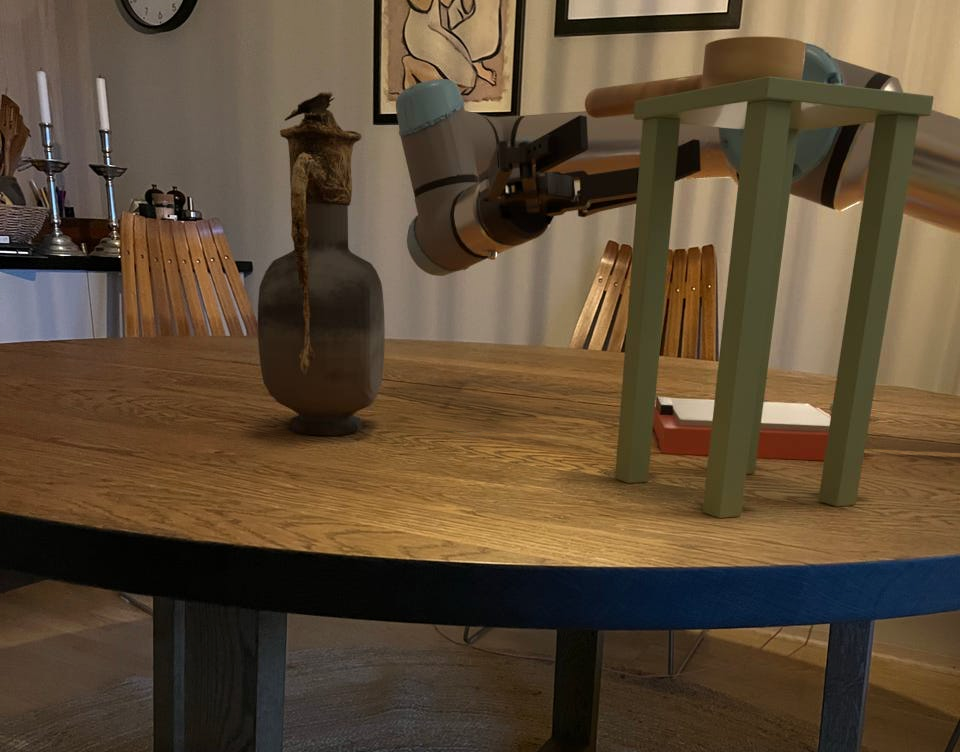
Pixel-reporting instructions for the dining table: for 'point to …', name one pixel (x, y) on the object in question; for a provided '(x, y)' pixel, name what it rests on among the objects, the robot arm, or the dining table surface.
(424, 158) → the robot arm
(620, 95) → the scoop
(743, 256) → the shelf stand
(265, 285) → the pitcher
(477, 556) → the dining table surface
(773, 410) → the scale
